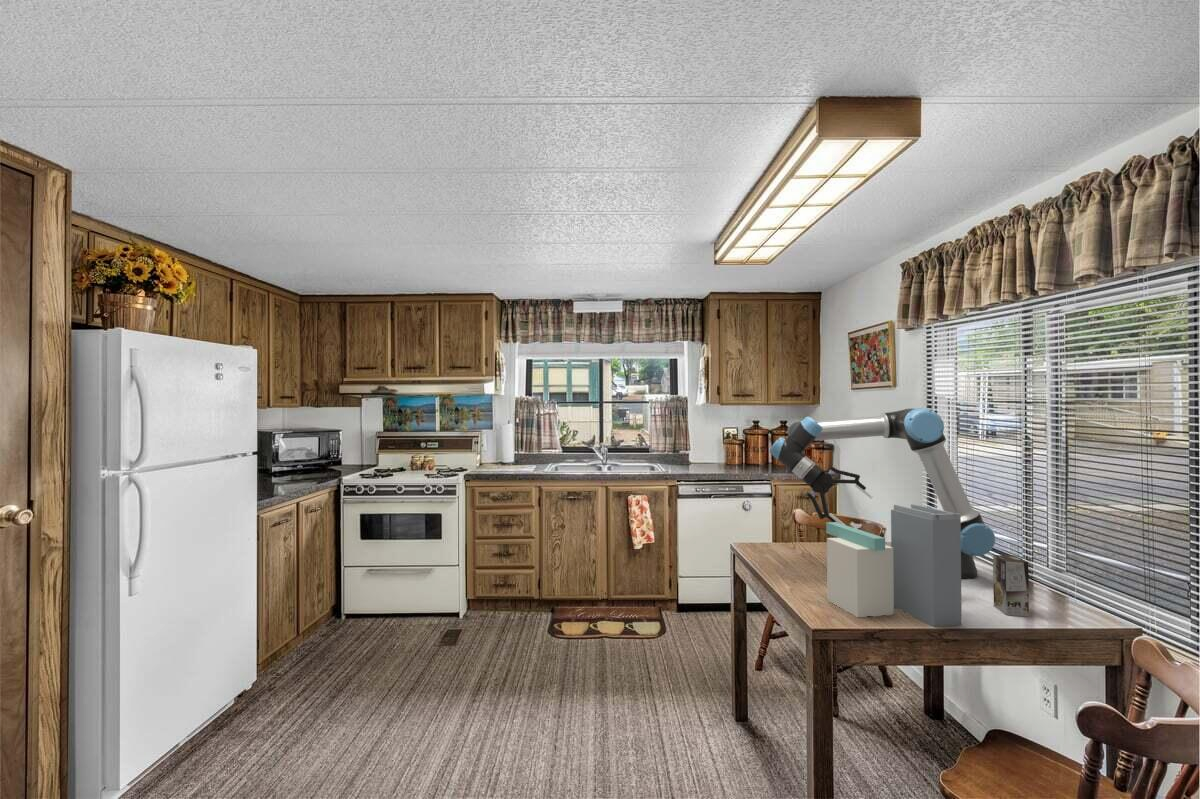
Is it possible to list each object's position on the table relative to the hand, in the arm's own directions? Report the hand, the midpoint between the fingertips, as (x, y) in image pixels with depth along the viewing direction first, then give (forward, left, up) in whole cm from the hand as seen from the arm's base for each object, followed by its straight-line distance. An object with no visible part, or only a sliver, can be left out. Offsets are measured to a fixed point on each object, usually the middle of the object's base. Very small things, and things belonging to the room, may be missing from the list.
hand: (858, 512), depth 211 cm
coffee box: (-29, +32, -26) cm, 51 cm away
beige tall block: (+14, +20, -25) cm, 35 cm away
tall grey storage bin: (-1, +30, -26) cm, 40 cm away
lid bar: (+14, +18, -5) cm, 23 cm away
